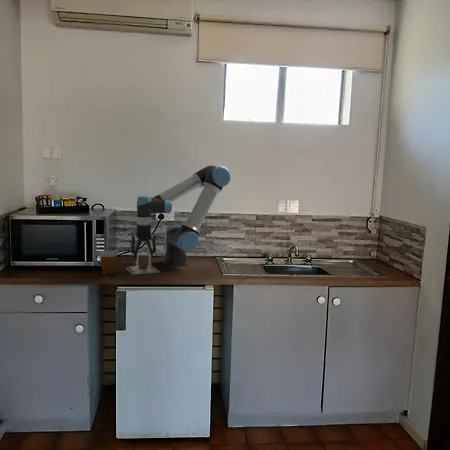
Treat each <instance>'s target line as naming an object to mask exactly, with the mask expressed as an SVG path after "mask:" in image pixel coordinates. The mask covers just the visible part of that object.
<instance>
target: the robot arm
mask: <svg viewBox="0 0 450 450" xmlns="http://www.w3.org/2000/svg"><path fill="white" fill-rule="evenodd" d="M230 181H231V172H230V170H229V169H228V168H227V167H226V166H222V165H207V166H205V167H202V168H200V170H198V171H195V172H193V174H192V176H190V177H188V178H186V179H184V180H182V181H181V182H179V183H177V184H175V185H173V186H171V187H169V188H168V189H166V190H164V191H163V192H161V193H159V194H157V195H155V196H153V197H152V196H148V195H144V196H143V195H141V196H138V197H137V200H136V224H137V225H136V233H135V234H131V235H130V237H131V243H130V246H131V247H130V253H131V254H133V260H134V261H135V266H139V254H138V251H139V249H140V246H141V244H142V242H146V244H147V248H148V251H149V252H148V253H147V265H149V266H151V265H152V260H153V255H154V254H155V253H157V247H156V246H157V245H156V243H157V242H156V238H157V236H156V234H152V232H151V229H152V226H151V224H152V222H151V220H152V215H153V214H170V213H171V212H172V211H173V204H172V202H174V201H176V200H177V199H180V198H181V197H183V196H185V195H187V194H188V193H190V192H192V191H195V190H197V189H198V188H200V189H201V188H202V190H201V192H200V194H199V196H198V198H197V200H196V202H195V204H194V206H193V208H192V210H191V212H190V213H189V216H188V218H187V220H186V222H184V223H182V224H181V225H169V226H167V227H166V231H165V235H166V237H165V239H166V241H165V242H166V243H165V252H164V256H163V258H162V263H163V264H164V265H167V266H168V265H169V266H176V267H181V266H186V265H188V264H189V260H188V256H187V252H193V250H195V249H196V248H198V245H199V240H200V239H199V236H200V234H201V232H200V228H201V227H202V224H203V223H204V220H205V219H206V216H207V214H208V213H209V210H210V208H211V206H212V205H213V202H214V200H215V198H216V196H217V195H218V193H221V192H222V190H223V189H224V187H225V186H227V185H228V184H229V183H230ZM150 238H151V241H150ZM136 239H137V242H136ZM150 242H152V243H150Z"/></svg>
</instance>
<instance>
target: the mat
mask: <svg viewBox="0 0 450 450" xmlns="http://www.w3.org/2000/svg"><path fill="white" fill-rule="evenodd" d="M125 269H126V270H127V271H128V272H129V273H130V274H131V275H135V274H134V273H133V272H132V271H131V270H130V269H129V267H126V268H125ZM159 273H160V274H161V273H162V271H160V270H158V272H154V273H153V274H159ZM142 274H144V275H145V274H148V273H139V274H138V275H142Z"/></svg>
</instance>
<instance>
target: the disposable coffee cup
mask: <svg viewBox="0 0 450 450" xmlns="http://www.w3.org/2000/svg"><path fill="white" fill-rule="evenodd" d="M117 256H118V251H116V250H110V249H107V250H100V251H99V257H100V266H101V272H102V275H107V274H109V275H111V274H114V273H115V271H116V265H117Z"/></svg>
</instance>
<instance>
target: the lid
mask: <svg viewBox="0 0 450 450" xmlns="http://www.w3.org/2000/svg"><path fill="white" fill-rule="evenodd" d="M128 268H129V269H130V270H131V271H132V272H133V273H134V274H133V275H140V274H139V273H147V274H155V273H154V272H158V271H159V269H157V268H156V267H155V266H153V265H152V264H151V266H149V265H148V254H147V255H146V254H141V255H138V266H136V265H134V266H133V265H131V266H128Z"/></svg>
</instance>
